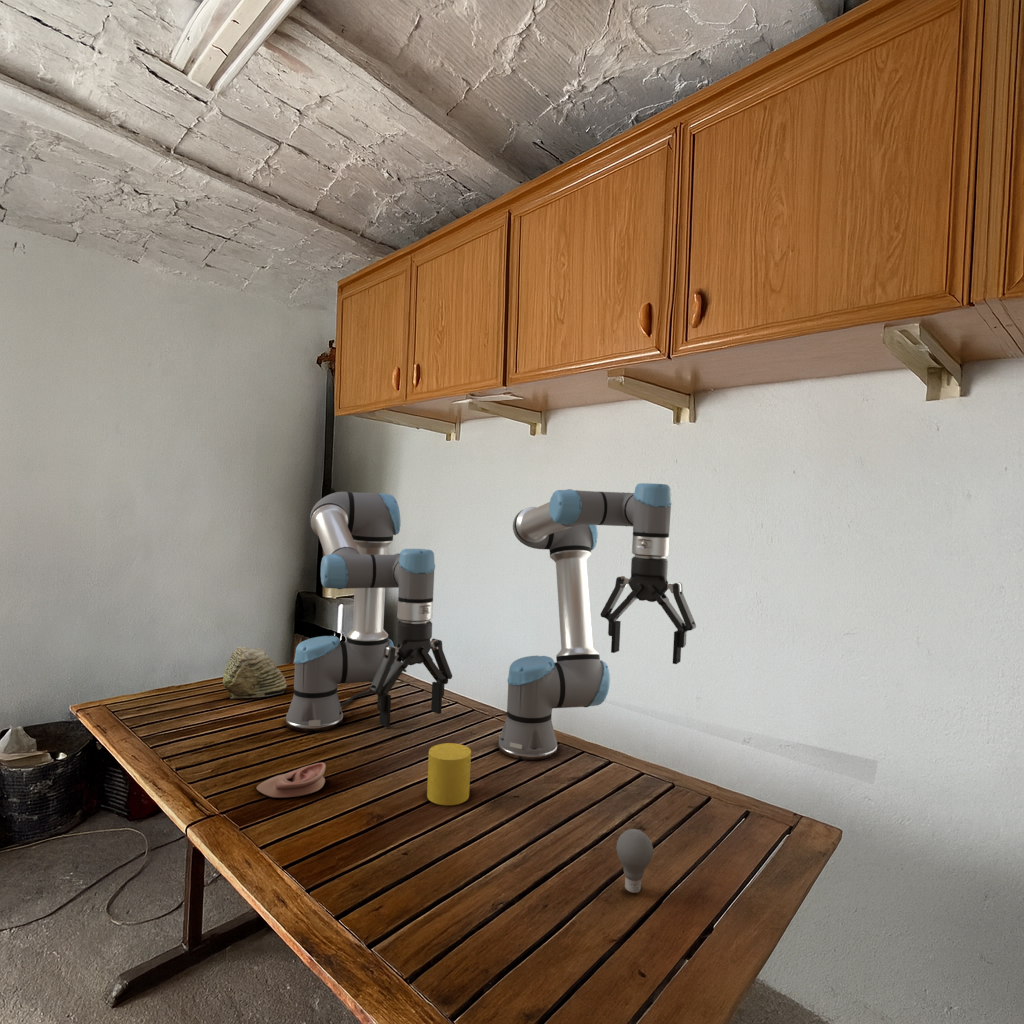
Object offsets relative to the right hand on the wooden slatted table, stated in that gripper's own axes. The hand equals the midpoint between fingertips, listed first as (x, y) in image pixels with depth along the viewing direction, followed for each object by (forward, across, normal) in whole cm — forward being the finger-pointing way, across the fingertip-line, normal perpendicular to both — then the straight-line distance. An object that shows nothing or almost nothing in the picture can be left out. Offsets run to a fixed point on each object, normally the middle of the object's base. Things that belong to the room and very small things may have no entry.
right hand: (644, 657), depth 134 cm
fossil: (+32, -125, -5) cm, 129 cm away
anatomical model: (+32, -64, -38) cm, 82 cm away
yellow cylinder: (+32, -36, -20) cm, 52 cm away
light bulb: (+32, +10, -28) cm, 44 cm away
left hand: (+16, -43, -24) cm, 52 cm away
